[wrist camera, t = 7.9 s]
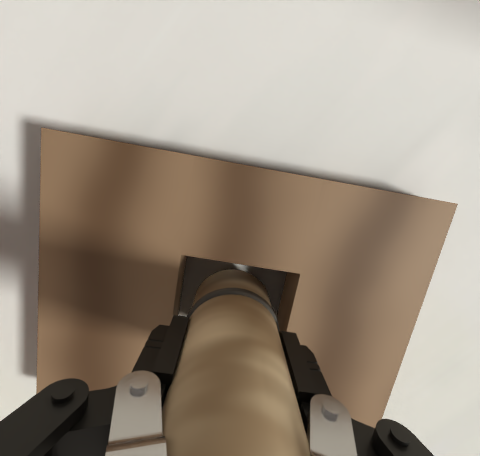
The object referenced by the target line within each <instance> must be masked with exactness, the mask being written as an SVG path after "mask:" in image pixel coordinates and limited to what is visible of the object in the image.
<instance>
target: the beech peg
mask: <svg viewBox="0 0 480 456" xmlns="http://www.w3.org/2000/svg"><path fill="white" fill-rule="evenodd" d="M187 317H190V319H189V323H188V327H187V330H186V334H185V337H184V341H183V344H182V348H181V352H180V355H179V359H178V362H177V366H176V369H175V373H174V377H173V380H172V384H171V385H170V387H169V389H168V392H167V394H166V397H165V401H164V404H163V408H162V434H163V436H165V438H166V450H167V456H311V455H310V448H309V443H308V439H307V435H306V432H305V428H304V424H303V421H302V417H301V413H300V410H299V406H298V402H297V399H296V395H295V391H294V387H293V384H292V380H291V376H290V373H289V369H288V365H287V362H286V358H285V354H284V351H283V347H282V343H281V340H280V336H279V331H280V329H279V324H278V321H277V317H276V315H275V312H274V310H273V309H272V307H271V303H270V299H269V296H268V292H267V290H266V288H265V287H264V285H263V284H262V283H261V281H260V280H259V279H257V278H256V277H255V276H253V275H252V274H250V273H247V272H245V271H241V270H223V271H220V272H217V273H214V274H213V275H211V276H209V277H208V278H207V279H205V280H204V281H203V282H202V284H201V285H200V286H199V288H198V290H197V292H196V294H195V298H194V301H193V305H192V308H191V309H190V311H189V313H188V315H187Z"/></svg>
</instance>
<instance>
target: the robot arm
mask: <svg viewBox="0 0 480 456" xmlns="http://www.w3.org/2000/svg"><path fill="white" fill-rule="evenodd" d="M189 319H190V317H185V316H178V315H174V316H173V318H172V321H171V323H170V326H167V325H158V326H157V327H156V328H155V329H153V330H152V331H151V333H150V335H149V337H148V340H147V341H146V343H145V346H144V347H143V349H142V352H141V354H140V356H139V358H138V360H137V362H136V364H135V366H134V368H133V370H132V372H131V373H129V374H127V375H125V376H124V377H123V378H122V379H121V380H120V381H119V382H118V384H117V385H116V386H114V387H111V388H106V389H100V390H93V391H89V387H88V385H87V383H86V382H84V381H83V380H80V379H76V378H68V379H62V380H59V381H56V382H54V383H52V384H50V385H48V386H47V387H45V388H44V389H43V390H41V391H40V392H39V393H37V394H36V395H35V396H33V397H32V398H31V399H29V400H28V401H27V402H26V403H24V404H23V405H22V406H20V407H19V408H18V409H16V410H15V411H14V412H12V413H11V414H10V415H8V416H7V417H6V418H4V419H3V420H2V421H0V456H167V450H166V438H165V436H163V434H162V408H163V404H164V401H165V397H166V394H167V392H168V389H169V387H170V385H171V384H172V380H173V377H174V373H175V369H176V366H177V362H178V359H179V355H180V352H181V348H182V344H183V341H184V337H185V334H186V330H187V327H188V323H189ZM279 336H280V340H281V343H282V347H283V351H284V354H285V358H286V362H287V365H288V369H289V373H290V376H291V380H292V384H293V387H294V391H295V395H296V399H297V402H298V406H299V410H300V413H301V417H302V421H303V424H304V428H305V432H306V435H307V439H308V443H309V448H310V455H311V456H434V455H433V454H432V453H431V452H430V451H429V450H428V449H427V448H426V447H425V446H424V445H423V444H422V443H421V442H420V441H419V439H418V438H417V437H416V436H415V435H414V434H413V433H412V432H411V431H410V430H408V429H407V428H406V427H404V426H403V425H401V424H400V423H398V422H396V421H393V420H389V419H381V420H379V421H378V422H377V424H376V427H375V428H373V427H371V426H368V425H366V424H363V423H361V422H358V421H356V420H354V419H352V418H351V416H350V414H349V411H348V410H347V408H346V407H345V406H344V405H343V404H342V403H341V402H340V401H339V400H337V399H336V398H334V397H332V395H331V393H330V390H329V388H328V386H327V383H326V381H325V379H324V376H323V374H322V372H321V369H320V367H319V365H318V364H317V363H318V362H317V360H316V358H315V355H314V353H313V352H312V351H311V350H310V349H309V348H308V347H307V346H306V345H300V342H299V339H298V337H297V334H296V333H294V332H287V331H279Z"/></svg>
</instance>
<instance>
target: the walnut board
mask: <svg viewBox="0 0 480 456" xmlns="http://www.w3.org/2000/svg"><path fill="white" fill-rule="evenodd" d="M457 205H458V204H455V203H450V202H445V201H439V200H434V199H428V198H423V197H417V196H412V195H406V194H401V193H396V192H390V191H385V190H379V189H374V188H368V187H363V186H357V185H352V184H346V183H341V182H336V181H330V180H325V179H319V178H314V177H308V176H303V175H297V174H292V173H287V172H281V171H276V170H270V169H265V168H259V167H254V166H248V165H243V164H238V163H232V162H227V161H221V160H216V159H210V158H205V157H199V156H194V155H189V154H183V153H178V152H172V151H167V150H161V149H156V148H150V147H145V146H139V145H134V144H129V143H123V142H118V141H112V140H107V139H101V138H96V137H90V136H85V135H80V134H74V133H69V132H63V131H58V130H52V129H47V128H41V169H40V225H39V281H38V337H37V393H39V392H40V391H41V390H43V389H44V388H45V387H47V386H48V385H50V384H52V383H54V382H56V381H59V380H62V379H68V378H76V379H80V380H83V381H84V382H86V383H87V385H88V387H89V391H93V390H100V389H106V388H111V387H114V386H116V385H117V384H118V382H119V381H120V380H121V379H122V378H123V377H124V376H125V375H127V374H129V373H131V372H132V370H133V368H134V366H135V364H136V362H137V360H138V358H139V356H140V354H141V352H142V349H143V347H144V346H145V343H146V341H147V340H148V337H149V335H150V333H151V331H152V330H153V329H155V328H156V327H157V326H158V325H167V326H170V323H171V321H172V318H173V316H174V315H178V314H179V307H180V300H181V293H182V286H183V279H184V272H185V265H186V258H187V256H191V257H198V258H204V259H210V260H216V261H223V262H229V263H235V264H242V265H248V266H254V267H260V268H267V269H273V270H279V271H285V272H287V275H286V279H285V284H284V288H283V292H282V297H281V301H280V306H279V310H278V314H277V321H278V324H279V329H280V331H287V332H294V333H296V334H297V337H298V339H299V342H300V345H306V346H307V347H308V348H309V349H310V350H311V351H312V352H313V353H314V355H315V358H316V360H317V362H318V363H317V364H318V365H319V367H320V369H321V372H322V374H323V376H324V379H325V381H326V383H327V386H328V388H329V390H330V393H331V395H332V397H334V398H336V399H337V400H339V401H340V402H341V403H342V404H343V405H344V406H345V407H346V408H347V410H348V411H349V414H350V416H351V418H352V419H354V420H356V421H358V422H361V423H363V424H366V425H368V426H371V427H373V428H375V427H376V424H377V422H378V421H379V420H381V419H382V416H383V413H384V411H385V408H386V405H387V402H388V399H389V396H390V394H391V391H392V388H393V385H394V382H395V380H396V377H397V374H398V371H399V368H400V365H401V363H402V360H403V357H404V354H405V351H406V348H407V346H408V343H409V340H410V337H411V334H412V332H413V329H414V326H415V323H416V320H417V317H418V315H419V312H420V309H421V306H422V303H423V301H424V298H425V295H426V292H427V289H428V286H429V284H430V281H431V278H432V275H433V272H434V269H435V267H436V264H437V261H438V258H439V255H440V253H441V250H442V247H443V244H444V241H445V238H446V236H447V233H448V230H449V227H450V224H451V222H452V219H453V216H454V213H455V210H456V207H457Z"/></svg>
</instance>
